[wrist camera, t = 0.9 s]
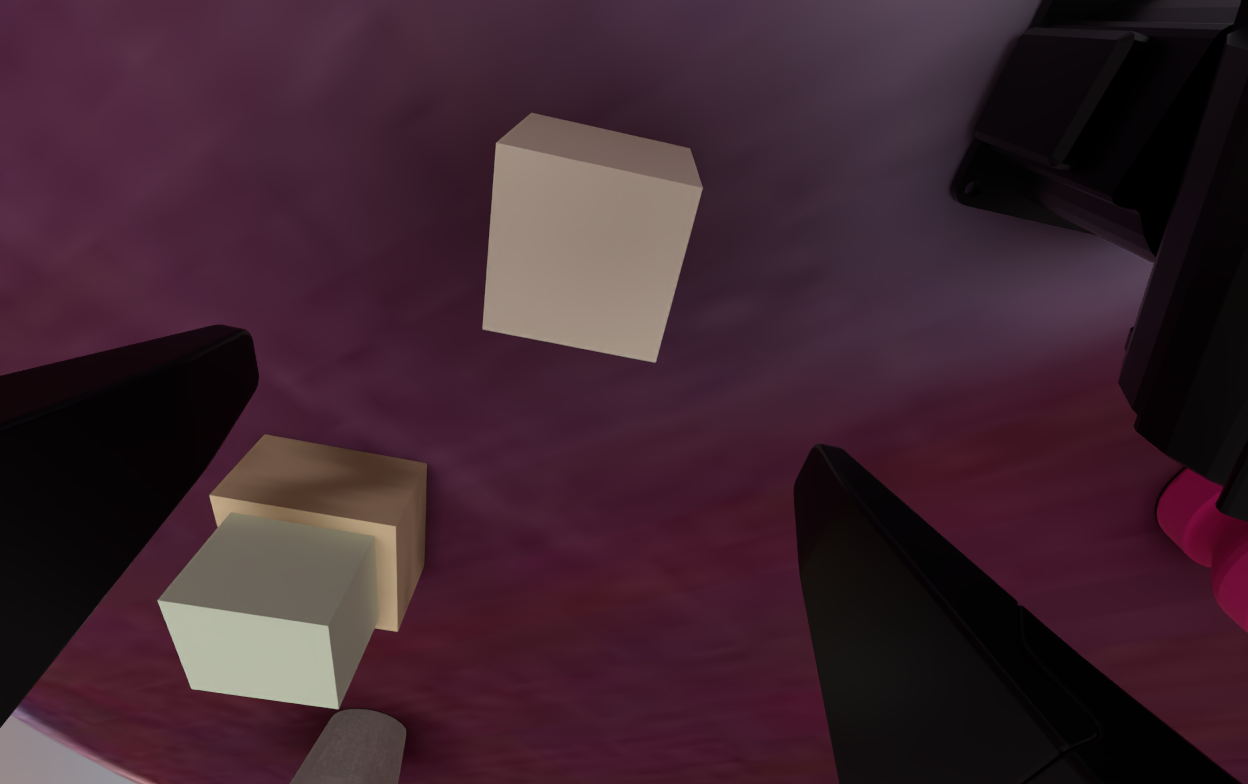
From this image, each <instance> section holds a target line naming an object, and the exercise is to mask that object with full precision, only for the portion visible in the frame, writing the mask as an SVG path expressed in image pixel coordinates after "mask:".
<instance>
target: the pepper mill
mask: <svg viewBox="0 0 1248 784" xmlns="http://www.w3.org/2000/svg"><path fill="white" fill-rule="evenodd" d="M1222 489H1223V487H1222V486H1220V485H1218V484H1215V483H1213V482H1211V481H1209V480H1207V479H1205V478H1203V477H1202V476H1200V475H1198V474H1196V473H1195V472H1193V471H1191V470H1189V469H1188V468H1186V469H1184V470H1183V471H1182V472H1181V473H1180V474H1179V475H1178V476H1177V477H1176V478H1175V479H1174V480H1173V481H1172V482H1171V483H1170V484H1169V485H1168V486H1167V488H1166V489H1165V491H1164V492H1163V494H1162V496H1161V497H1160V499H1159V503H1158V508H1157V519H1158V523H1159V525H1160V527H1161V528H1162V530H1163V531H1164V532H1165V533H1166V534H1167V535H1168V536H1169V537H1170V538H1171V539H1172V540H1173V541H1174V542H1175V543H1176V544H1177V545H1178V546H1179V547H1180V548H1181V549H1182V550H1183V551H1184V552H1185V553H1186V554H1187V555H1188V556H1189V557H1190V558H1191V559H1192V560H1194V561H1195V562H1197V563H1198V564H1201V565H1203V566H1206V567H1211V572H1210V576H1211V588H1212V591H1213V594H1214V597H1215V600H1216V601H1217V603H1218V604H1219V606H1220V607H1221V608H1222V610H1223V611H1224V612H1225V613H1226V614H1227V615H1228V616H1229V617H1230V618H1232V619H1233V620H1234V621H1235V622H1236V623H1237V624H1238V625H1239V626H1240V627H1241V628H1242V629H1244V630H1245V631H1246V632H1247V633H1248V522H1246V521H1243V520H1240V519H1236V518H1233V517H1230V516H1227V515H1225V514H1223V513H1221V512H1219V510H1218V509H1217V508H1216V506H1215V503H1216V501H1217V499H1218V497H1219V495H1220V493H1221V491H1222Z"/></svg>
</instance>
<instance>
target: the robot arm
mask: <svg viewBox="0 0 1248 784" xmlns="http://www.w3.org/2000/svg"><path fill="white" fill-rule="evenodd" d="M975 133H976V137H975V139H974V141H973V143H972V145H971V147H970V149H969V151H968V153H967V155H966V157H965V159H964V161H963V163H962V164H961V166H960V168H959V170H958V172H957V174H956V176H955V178H954V180H953V182H952V186H951V189H950V190H951V196H952V197H953V199H954V200H956V201H958V202H959V203H961V204H963V205H966V206H970V207H974V208H979V209H983V210H988V211H992V212H997V213H1001V214H1005V215H1010V216H1014V217H1019V218H1023V219H1027V220H1032V221H1036V222H1041V223H1045V224H1050V225H1054V226H1058V227H1063V228H1067V229H1072V230H1076V231H1081V232H1085V233H1089V234H1094V235H1098V236H1100V237H1102V238H1104V239H1106V240H1108V241H1110V242H1112V243H1114V244H1116V245H1118V246H1120V247H1122V248H1124V249H1126V250H1128V251H1130V252H1132V253H1134V254H1136V255H1138V256H1140V257H1142V258H1144V259H1147V260H1149V261H1151V262H1153V263H1154V265H1153V268H1152V272H1151V275H1150V278H1149V281H1148V284H1147V287H1146V290H1145V293H1144V297H1143V300H1142V303H1141V306H1140V309H1139V312H1138V315H1137V318H1136V322H1135V325H1134V327H1132V328H1131V329H1130V332H1129V335H1128V338H1127V341H1126V344H1125V350H1126V353H1125V356H1124V359H1123V363H1122V368H1121V372H1120V377H1119V381H1118V383H1119V385H1120V387H1121V389H1122V391H1123V393H1124V395H1125V396H1126V398H1127V400H1128V402H1129V404H1130V406H1131V408H1132V409H1133V410H1134V411H1135V413H1136V414H1137V418H1136V421H1135V424H1134V428H1135V430H1136V431H1137V432H1138V433H1139V434H1140V435H1142V436H1143V437H1144V438H1145V439H1147V440H1148V441H1149V442H1150V443H1152V444H1153V445H1154V446H1155V447H1157V448H1158V449H1159V450H1160V451H1162V452H1163V453H1164V454H1165V455H1167V456H1168V457H1169V458H1171V459H1172V460H1174V461H1175V462H1177V463H1179V464H1181V465H1182V466H1184V467H1186V468H1188V469H1189V470H1191V471H1193V472H1195V473H1196V474H1198V475H1200V476H1202V477H1203V478H1205V479H1207V480H1209V481H1211V482H1213V483H1215V484H1218V485H1220V486H1222V487H1223V489H1222V491H1221V493H1220V495H1219V497H1218V499H1217V501H1216V503H1215V506H1216V508H1217V509H1218V510H1219V512H1221V513H1223V514H1225V515H1227V516H1230V517H1233V518H1236V519H1240V520H1243V521H1246V522H1248V0H1044V2H1043V4H1042V6H1041V8H1040V10H1039V12H1038V14H1037V16H1036V18H1035V19H1034V21H1033V23H1032V25H1031V27H1030V29H1029V31H1027V32H1026V33H1024V34H1023V35H1021V36H1020V38H1019V40H1018V42H1017V44H1016V46H1015V48H1014V50H1013V52H1012V54H1011V56H1010V58H1009V60H1008V62H1007V64H1006V66H1005V68H1004V70H1003V72H1002V74H1001V76H1000V78H999V80H998V82H997V84H996V86H995V88H994V90H993V92H992V94H991V96H990V98H989V100H988V102H987V104H986V106H985V108H984V110H983V112H982V114H981V116H980V118H979V120H978V122H977V124H976V126H975ZM972 181H976V186H975V188H974V190H973V191H972V192H970V193H968V194H965V193H964V191H965V187H966V186H967V185H968V184H969V183H970V182H972ZM258 381H259V373H258V367H257V361H256V355H255V349H254V343H253V339H252V336H251V334H250V333H249V332H248V331H247V330H245V329H241V328H236V327H231V326H226V325H212V326H208V327H204V328H200V329H195V330H191V331H187V332H183V333H179V334H174V335H170V336H166V337H162V338H157V339H153V340H149V341H145V342H141V343H136V344H132V345H128V346H124V347H119V348H115V349H111V350H107V351H103V352H98V353H94V354H90V355H86V356H82V357H77V358H73V359H69V360H65V361H60V362H56V363H52V364H48V365H44V366H39V367H35V368H31V369H27V370H22V371H18V372H14V373H10V374H6V375H1V376H0V728H1V726H2V725H3V724H4V723H5V721H6V720H7V719H8V718H9V717H10V715H11V714H12V713H13V711H14V710H15V709H16V708H17V706H18V705H19V704H20V703H21V701H22V700H23V699H24V698H25V696H26V695H27V694H28V693H29V691H30V690H31V689H32V688H33V686H34V685H35V684H36V683H37V681H38V680H39V679H40V678H41V676H42V675H43V674H44V673H45V671H46V670H47V669H48V668H49V666H50V665H51V664H52V662H53V661H54V660H55V659H56V657H57V656H58V655H59V654H60V652H61V651H62V650H63V649H64V647H65V646H66V645H67V644H68V642H69V641H70V640H71V639H72V637H73V636H74V635H75V634H76V632H77V631H78V630H79V629H80V627H81V626H82V625H83V624H84V622H85V621H86V620H87V619H88V617H89V616H90V615H91V613H92V612H93V611H94V610H95V608H96V607H97V606H98V605H99V603H100V602H101V601H102V600H103V598H104V597H105V596H106V595H107V593H108V592H109V591H110V590H111V588H112V587H113V586H114V585H115V583H116V582H117V581H118V580H119V578H120V577H121V576H122V575H123V573H124V572H125V571H126V570H127V568H128V567H129V566H130V564H131V563H132V562H133V561H134V559H135V558H136V557H137V556H138V554H139V553H140V552H141V551H142V549H143V548H144V547H145V546H146V544H147V543H148V542H149V541H150V539H151V538H152V537H153V536H154V534H155V533H156V532H157V531H158V529H159V528H160V527H161V526H162V524H163V523H164V522H165V521H166V519H167V518H168V517H169V515H170V514H171V513H172V512H173V510H174V509H175V508H176V507H177V505H178V504H179V503H180V502H181V500H182V499H183V498H184V497H185V495H186V494H187V493H188V492H189V490H190V489H191V488H192V487H193V485H194V484H195V483H196V482H197V480H198V479H199V478H200V476H201V475H202V474H203V472H204V471H205V470H206V468H207V467H208V465H209V464H210V462H211V461H212V459H213V458H214V456H215V455H216V453H217V452H218V450H219V449H220V447H221V445H222V444H223V442H224V441H225V439H226V437H227V436H228V434H229V432H230V431H231V429H232V428H233V426H234V424H235V423H236V421H237V420H238V418H239V416H240V415H241V413H242V412H243V410H244V408H245V407H246V405H247V404H248V402H249V400H250V399H251V397H252V396H253V394H254V392H255V390H256V388H257V386H258ZM794 507H795V521H796V535H797V549H798V562H799V572H800V579H801V585H802V591H803V596H804V601H805V607H806V612H807V617H808V622H809V627H810V633H811V638H812V643H813V648H814V654H815V659H816V664H817V669H818V674H819V680H820V685H821V690H822V695H823V701H824V706H825V711H826V716H827V722H828V727H829V732H830V737H831V742H832V748H833V753H834V758H835V763H836V769H837V774H838V779H839V784H1242V783H1241V782H1240V781H1238V780H1237V779H1236V778H1234V777H1233V776H1232V775H1230V774H1229V773H1228V772H1227V771H1225V770H1224V769H1223V768H1222V767H1220V766H1219V765H1218V764H1217V763H1215V762H1214V761H1213V760H1211V759H1210V758H1209V757H1208V756H1206V755H1205V754H1204V753H1203V752H1201V751H1200V750H1199V749H1197V748H1196V747H1195V746H1194V745H1192V744H1191V743H1190V742H1189V741H1187V740H1186V739H1185V738H1184V737H1182V736H1181V735H1180V734H1178V733H1177V732H1176V731H1175V730H1173V729H1172V728H1171V727H1170V726H1168V725H1167V724H1166V723H1165V722H1163V721H1162V720H1161V719H1159V718H1158V717H1157V716H1156V715H1154V714H1153V713H1152V712H1151V711H1149V710H1148V709H1147V708H1146V707H1144V706H1143V705H1142V704H1140V703H1139V702H1138V701H1137V700H1135V699H1134V698H1133V697H1132V696H1130V695H1129V694H1128V693H1127V692H1125V691H1124V690H1123V689H1122V688H1120V687H1119V686H1118V685H1117V684H1115V683H1114V682H1113V681H1112V680H1110V679H1109V678H1108V677H1107V676H1105V675H1104V674H1103V673H1102V672H1100V671H1099V670H1098V669H1097V668H1095V667H1094V666H1093V665H1092V664H1090V663H1089V662H1088V661H1087V660H1086V659H1084V658H1083V657H1082V656H1081V655H1079V654H1078V653H1077V652H1076V651H1075V650H1074V649H1072V648H1071V647H1070V646H1069V645H1068V644H1066V643H1065V642H1064V641H1063V640H1062V639H1061V638H1059V637H1058V636H1057V635H1056V634H1055V633H1054V632H1052V631H1051V630H1050V629H1049V628H1048V627H1046V626H1045V625H1044V624H1043V623H1042V622H1041V621H1040V620H1038V619H1037V618H1036V617H1035V616H1034V615H1033V614H1032V613H1030V612H1029V611H1028V610H1027V609H1026V608H1025V607H1024V606H1022V605H1019V606H1018V602H1017V601H1016V600H1015V599H1014V598H1013V597H1012V596H1011V595H1010V594H1009V593H1007V592H1006V591H1005V590H1004V589H1003V588H1002V587H1000V586H999V585H998V584H997V583H996V582H995V581H994V580H992V579H991V578H990V577H989V576H988V575H987V574H986V573H984V572H983V571H982V570H981V569H980V568H979V567H978V566H976V565H975V564H974V563H973V562H972V561H971V560H969V559H968V558H967V557H966V556H965V555H964V554H963V553H961V552H960V551H959V550H958V549H957V548H956V547H955V546H953V545H952V544H951V543H950V542H949V541H948V540H947V539H945V538H944V537H943V536H942V535H941V534H940V533H938V532H937V531H936V530H935V529H934V528H933V527H932V526H930V525H929V524H928V523H927V522H926V521H925V520H924V519H922V518H921V517H920V516H919V515H918V514H917V513H916V512H914V511H913V510H912V509H911V508H910V507H909V506H908V505H906V504H905V503H904V502H903V501H902V500H901V499H900V498H898V497H897V496H896V495H895V494H894V493H893V492H891V491H890V490H889V489H888V488H887V487H886V486H885V485H883V484H882V483H881V482H880V481H879V480H878V479H877V478H875V477H874V476H873V475H872V474H871V473H870V472H869V471H867V470H866V469H865V468H864V467H863V466H862V465H861V464H859V463H858V462H857V461H856V460H855V459H854V458H853V457H851V456H850V455H849V454H848V453H847V452H846V451H844V450H843V449H842V448H839V447H835V446H830V445H825V444H817V445H815V446H814V447H813V448H812V449H811V451H810V453H809V455H808V457H807V459H806V461H805V463H804V465H803V467H802V469H801V471H800V473H799V474H798V476H797V479H796V481H795V485H794Z"/></svg>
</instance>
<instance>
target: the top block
mask: <svg viewBox="0 0 1248 784" xmlns="http://www.w3.org/2000/svg"><path fill="white" fill-rule="evenodd" d="M158 603H159V606H160V608H161V611H162V613H163V616H164V618H165V621H166V624H167V626H168V629H169V631H170V634H171V637H172V639H173V642H174V644H175V647H176V650H177V652H178V655H179V657H180V660H181V663H182V665H183V668H184V670H185V673H186V676H187V678H188V681H189V683H190V686H191V689H196V690H203V691H210V692H218V693H225V694H232V695H239V696H246V697H254V698H261V699H268V700H275V701H282V702H290V703H297V704H304V705H311V706H318V707H326V708H333V709H339V708H340V705H341V703H342V701H343V698H344V696H345V694H346V692H347V689H348V687H349V685H350V683H351V680H352V678H353V676H354V674H355V671H356V669H357V667H358V665H359V662H360V660H361V658H362V655H363V653H364V651H365V649H366V646H367V644H368V642H369V640H370V637H371V635H372V633H373V631H374V628H375V626H376V624H377V621H378V619H379V618H378V596H377V574H376V551H375V536H371V535H365V534H359V533H353V532H347V531H341V530H335V529H329V528H323V527H317V526H311V525H305V524H299V523H293V522H287V521H281V520H275V519H269V518H263V517H257V516H250V515H244V514H238V513H232V512H230V514H229V515H228V516H227V517H226V518H225V520H224V521H223V522H222V523H221V525H220V526H219V527H218V528H217V529H216V531H215V532H214V533H213V534H212V535H211V537H210V538H209V539H208V540H207V541H206V543H205V544H204V545H203V546H202V547H201V549H200V550H199V551H198V552H197V553H196V555H195V556H194V557H193V558H192V559H191V561H190V562H189V563H188V564H187V565H186V567H185V568H184V569H183V570H182V571H181V573H180V574H179V575H178V576H177V577H176V579H175V580H174V581H173V582H172V583H171V585H170V586H169V587H168V588H167V589H166V591H165V592H164V593H163V594H162V596H161V597H160V598H159V599H158Z"/></svg>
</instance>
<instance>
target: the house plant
mask: <svg viewBox="0 0 1248 784" xmlns="http://www.w3.org/2000/svg"><path fill="white" fill-rule="evenodd" d="M405 740H406V728H405V727H404V726H403V725H402V724H401V723H400V722H399V721H397V720H396V719H394V718H392V717H390V716H388V715H386V714H383V713H380V712H377V711H372V710H367V709H347V710H343V711H340V712H338V713H336V714H334V715H333V716H332V718H331V719H330V721H329V722H328V724H327V725H326V727H325V729H324V730H323V732H322V733H321V735H320V736H319V738H318V740H317V741H316V743H315V744H314V746H313V748H312V749H311V751H310V752H309V754H308V756H307V757H306V759H305V760H304V762H303V763H302V765H301V767H300V768H299V770H298V771H297V773H296V775H295V776H294V778H293V779H292V781H291V783H290V784H398V781H399V775H400V769H401V763H402V757H403V751H404V746H405Z"/></svg>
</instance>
